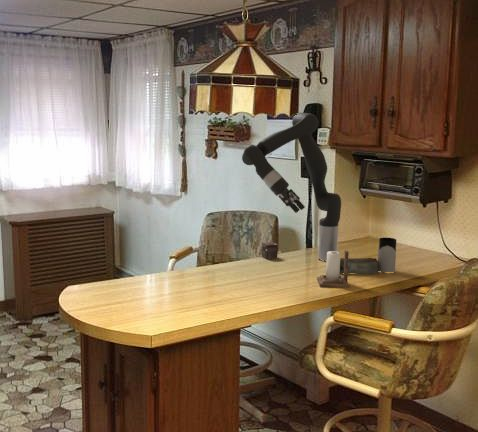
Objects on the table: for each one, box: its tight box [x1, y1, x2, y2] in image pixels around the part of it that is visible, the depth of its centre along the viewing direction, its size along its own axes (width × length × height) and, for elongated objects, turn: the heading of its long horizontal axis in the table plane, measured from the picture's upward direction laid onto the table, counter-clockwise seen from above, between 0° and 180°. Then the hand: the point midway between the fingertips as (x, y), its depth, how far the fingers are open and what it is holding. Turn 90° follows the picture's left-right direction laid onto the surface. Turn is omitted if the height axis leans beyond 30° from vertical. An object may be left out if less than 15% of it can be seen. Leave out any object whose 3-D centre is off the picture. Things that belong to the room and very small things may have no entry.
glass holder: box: [377, 237, 397, 272], centre depth 270 cm, size 9×14×15 cm, turn 166°
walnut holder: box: [316, 249, 350, 289], centre depth 246 cm, size 12×12×14 cm
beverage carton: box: [340, 257, 379, 275], centre depth 265 cm, size 8×19×7 cm, turn 86°
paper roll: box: [325, 251, 341, 281], centre depth 246 cm, size 6×6×12 cm
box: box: [261, 241, 279, 260], centre depth 291 cm, size 6×6×7 cm
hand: (300, 210), depth 253 cm, fingers open, 8 cm apart
